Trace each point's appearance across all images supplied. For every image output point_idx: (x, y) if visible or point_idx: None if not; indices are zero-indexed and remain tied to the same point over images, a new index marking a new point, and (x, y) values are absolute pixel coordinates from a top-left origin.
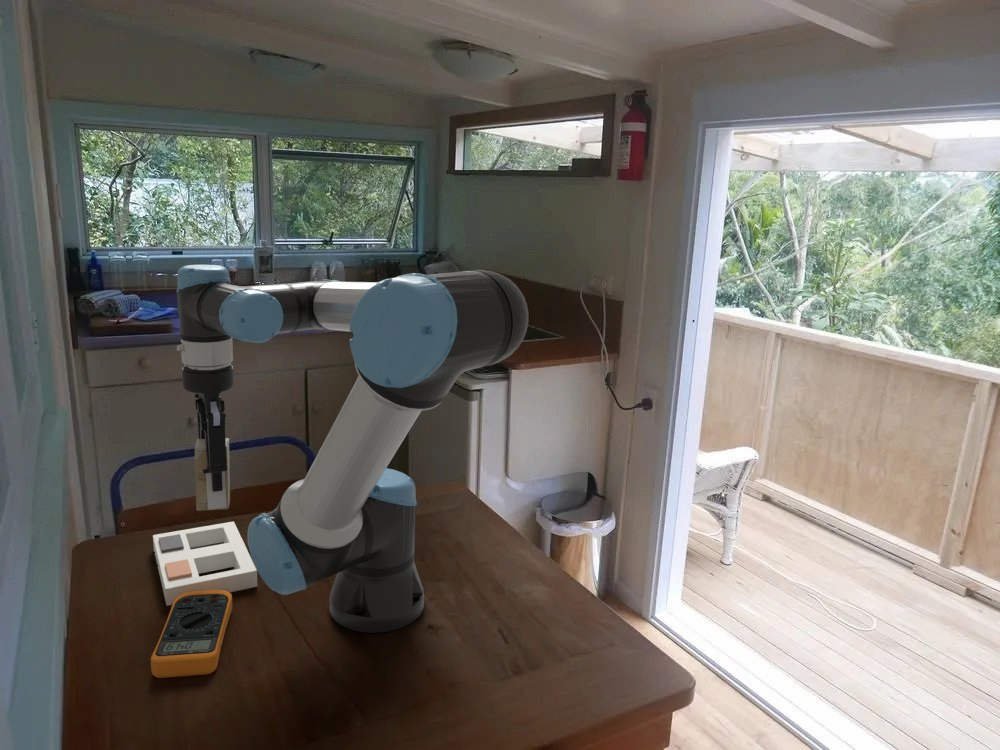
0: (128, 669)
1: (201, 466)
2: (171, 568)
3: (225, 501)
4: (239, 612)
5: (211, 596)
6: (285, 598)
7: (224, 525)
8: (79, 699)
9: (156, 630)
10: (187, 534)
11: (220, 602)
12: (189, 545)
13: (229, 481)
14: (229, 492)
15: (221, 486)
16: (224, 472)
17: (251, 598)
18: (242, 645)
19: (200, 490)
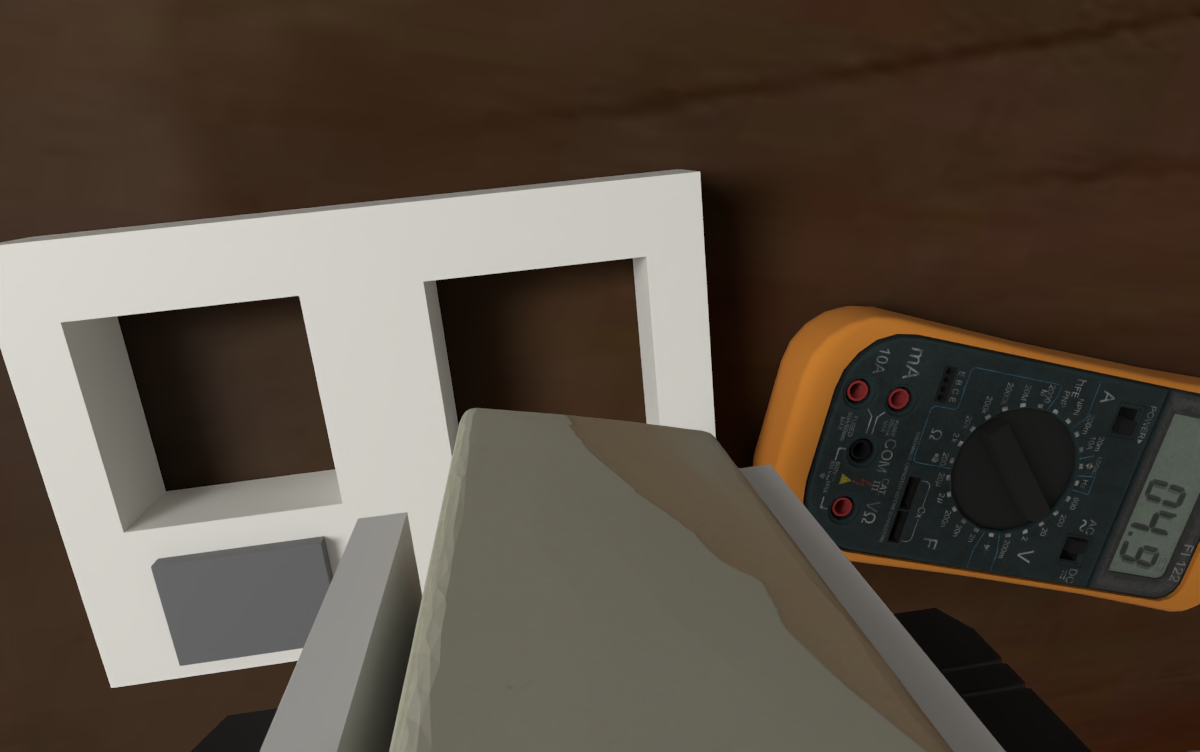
0: (1054, 642)
1: None
2: None
3: (792, 496)
4: (872, 272)
5: (851, 407)
6: (841, 43)
7: (30, 312)
8: (1129, 746)
9: (865, 578)
10: (122, 519)
11: (921, 370)
12: (155, 482)
13: (518, 496)
14: (572, 451)
15: (991, 657)
16: (986, 736)
17: (777, 209)
18: (1110, 280)
19: None
